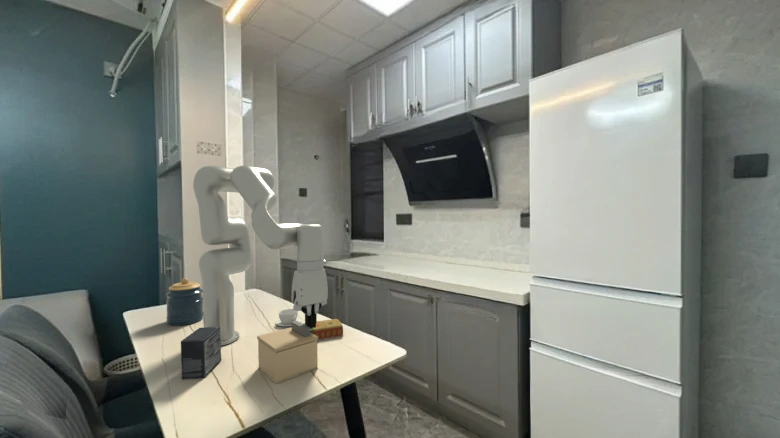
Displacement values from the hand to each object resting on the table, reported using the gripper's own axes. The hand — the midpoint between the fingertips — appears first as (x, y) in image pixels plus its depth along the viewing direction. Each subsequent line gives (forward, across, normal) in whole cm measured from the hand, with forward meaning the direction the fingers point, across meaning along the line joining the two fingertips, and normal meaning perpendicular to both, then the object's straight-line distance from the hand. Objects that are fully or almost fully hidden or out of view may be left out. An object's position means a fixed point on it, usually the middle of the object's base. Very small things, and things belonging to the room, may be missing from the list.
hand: (310, 326), depth 98 cm
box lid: (+2, +7, 0) cm, 8 cm away
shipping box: (+10, +7, 0) cm, 12 cm away
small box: (+10, +25, -16) cm, 32 cm away
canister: (+10, +19, -68) cm, 71 cm away
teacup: (+10, -10, -36) cm, 39 cm away
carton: (+11, -12, -16) cm, 23 cm away
